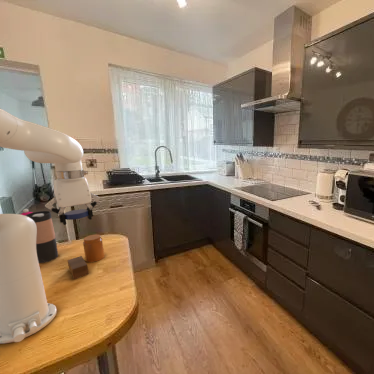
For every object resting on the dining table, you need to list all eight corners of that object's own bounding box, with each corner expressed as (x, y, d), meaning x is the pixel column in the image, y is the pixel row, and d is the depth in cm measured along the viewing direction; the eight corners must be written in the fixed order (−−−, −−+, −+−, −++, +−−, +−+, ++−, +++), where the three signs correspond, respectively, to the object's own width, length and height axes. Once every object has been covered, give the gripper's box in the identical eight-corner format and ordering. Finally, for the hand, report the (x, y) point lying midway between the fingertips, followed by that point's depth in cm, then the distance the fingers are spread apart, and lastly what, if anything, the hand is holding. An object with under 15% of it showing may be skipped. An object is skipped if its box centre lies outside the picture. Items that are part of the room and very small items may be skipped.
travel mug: (41, 255, 94) (32, 211, 90) (62, 252, 96) (54, 210, 92) (29, 264, 87) (19, 217, 83) (53, 261, 89) (43, 216, 85)
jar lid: (63, 217, 82) (62, 212, 81) (86, 212, 87) (85, 208, 86) (66, 221, 77) (65, 216, 77) (90, 216, 82) (89, 211, 82)
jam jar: (106, 257, 93) (103, 237, 91) (88, 264, 88) (84, 242, 86) (102, 252, 97) (99, 232, 95) (84, 258, 92) (80, 237, 90)
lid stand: (88, 274, 82) (87, 264, 81) (74, 279, 78) (72, 269, 78) (83, 264, 87) (81, 255, 87) (69, 269, 84) (67, 260, 83)
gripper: (95, 172, 87) (101, 213, 91) (36, 176, 75) (45, 224, 78) (101, 174, 82) (106, 218, 86) (38, 179, 70) (48, 230, 73)
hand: (77, 220), depth 82 cm, fingers closed on jar lid, 7 cm apart
